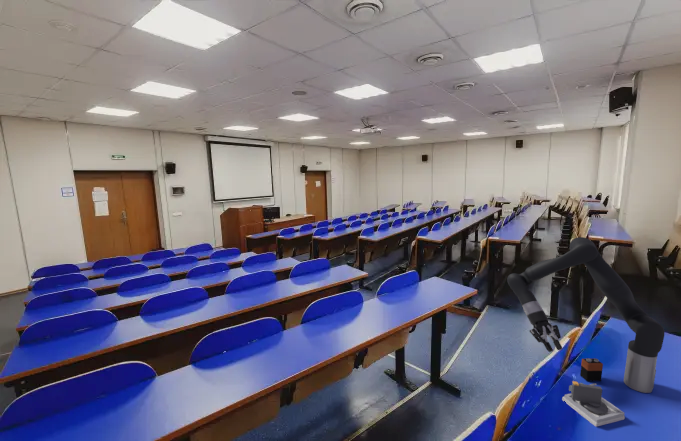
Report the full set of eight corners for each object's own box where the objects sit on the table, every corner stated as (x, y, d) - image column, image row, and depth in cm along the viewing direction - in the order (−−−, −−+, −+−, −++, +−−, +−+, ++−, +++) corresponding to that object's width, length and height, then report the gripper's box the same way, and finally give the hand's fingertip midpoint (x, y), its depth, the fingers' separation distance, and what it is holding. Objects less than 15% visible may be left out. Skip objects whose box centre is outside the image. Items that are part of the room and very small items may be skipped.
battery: (579, 375, 142) (581, 356, 141) (593, 375, 142) (596, 356, 141) (586, 381, 138) (588, 362, 136) (601, 381, 138) (603, 362, 136)
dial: (600, 400, 125) (603, 380, 123) (612, 417, 116) (615, 396, 115) (567, 394, 129) (569, 375, 127) (576, 410, 120) (578, 390, 119)
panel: (588, 393, 131) (589, 387, 130) (624, 419, 117) (625, 412, 117) (562, 399, 128) (562, 393, 128) (595, 426, 115) (596, 419, 114)
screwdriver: (574, 394, 131) (574, 389, 130) (568, 390, 133) (569, 385, 133) (598, 388, 134) (598, 383, 133) (592, 384, 136) (592, 379, 136)
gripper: (526, 312, 137) (548, 351, 127) (552, 308, 140) (575, 346, 130) (517, 317, 143) (536, 355, 133) (542, 313, 146) (562, 350, 136)
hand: (555, 350), depth 132 cm, fingers open, 4 cm apart
